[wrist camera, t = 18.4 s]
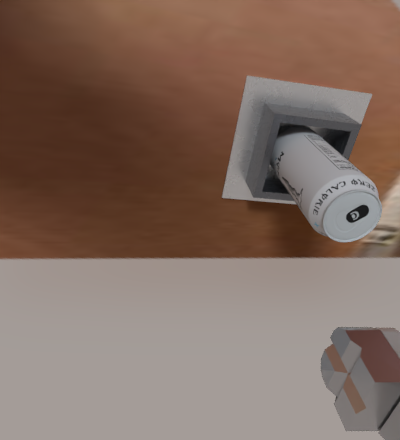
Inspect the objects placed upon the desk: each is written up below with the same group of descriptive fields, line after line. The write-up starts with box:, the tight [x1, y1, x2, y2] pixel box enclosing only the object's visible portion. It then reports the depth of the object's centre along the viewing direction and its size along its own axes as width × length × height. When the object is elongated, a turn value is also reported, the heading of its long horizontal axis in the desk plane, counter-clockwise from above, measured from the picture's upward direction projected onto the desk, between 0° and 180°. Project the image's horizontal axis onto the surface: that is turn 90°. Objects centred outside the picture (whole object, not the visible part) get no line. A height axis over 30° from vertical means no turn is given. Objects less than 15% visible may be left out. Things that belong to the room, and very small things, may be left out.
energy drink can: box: [270, 126, 382, 242], centre depth 36 cm, size 6×6×15 cm
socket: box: [222, 75, 372, 204], centre depth 41 cm, size 14×14×5 cm
